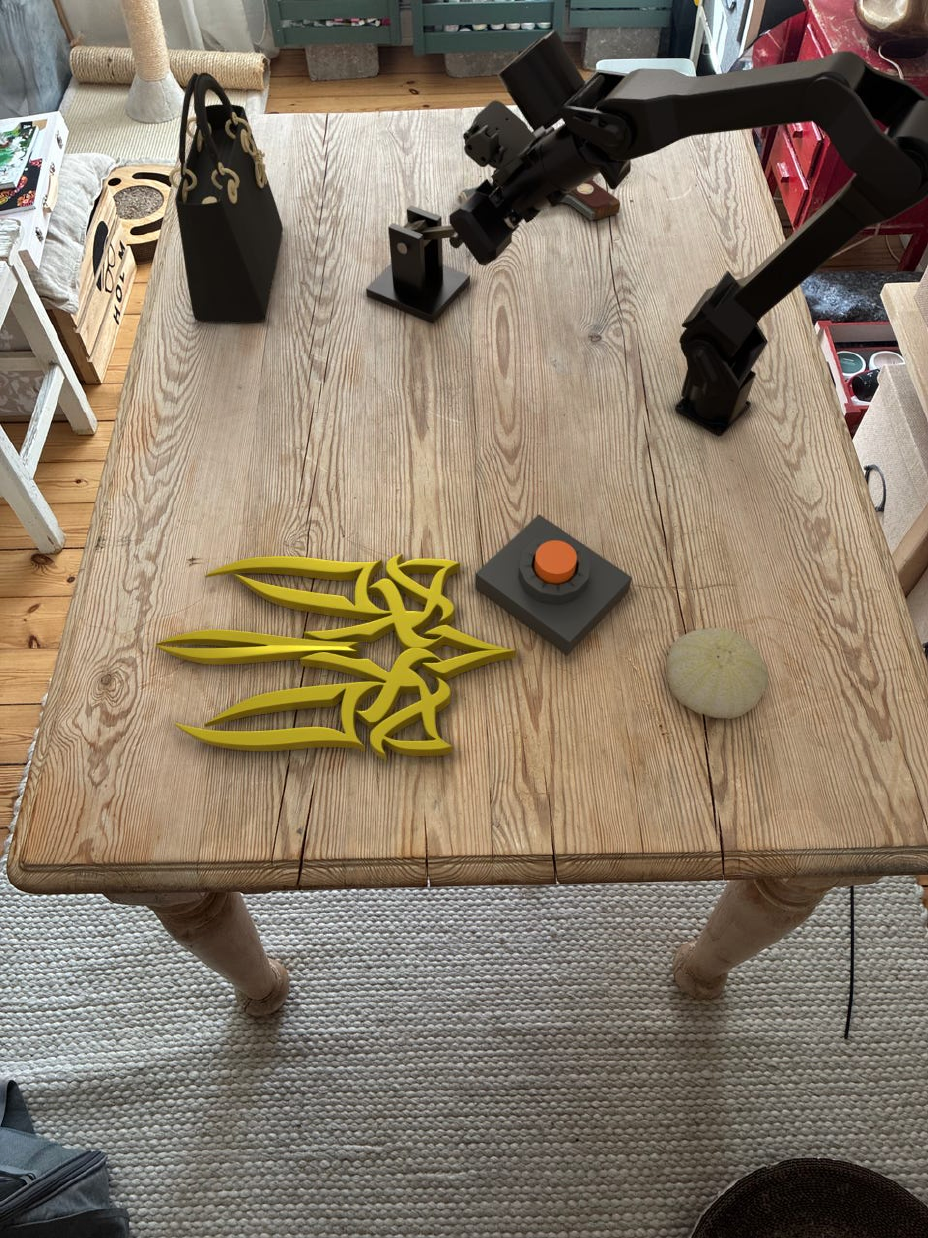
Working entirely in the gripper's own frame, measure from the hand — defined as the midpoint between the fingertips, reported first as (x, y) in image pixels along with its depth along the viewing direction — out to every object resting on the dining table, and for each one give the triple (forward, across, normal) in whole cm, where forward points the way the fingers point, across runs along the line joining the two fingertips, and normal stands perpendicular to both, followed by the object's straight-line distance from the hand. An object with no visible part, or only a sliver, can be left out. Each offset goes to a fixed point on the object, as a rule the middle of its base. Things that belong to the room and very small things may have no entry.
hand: (468, 223), depth 107 cm
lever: (+5, 0, 0) cm, 5 cm away
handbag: (+29, +10, -12) cm, 33 cm away
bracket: (+14, 0, +3) cm, 14 cm away
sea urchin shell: (-25, +33, +42) cm, 59 cm away
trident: (-2, +49, +19) cm, 53 cm away
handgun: (+10, -23, +7) cm, 26 cm away
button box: (-12, +32, +29) cm, 45 cm away
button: (-15, +32, +26) cm, 44 cm away
